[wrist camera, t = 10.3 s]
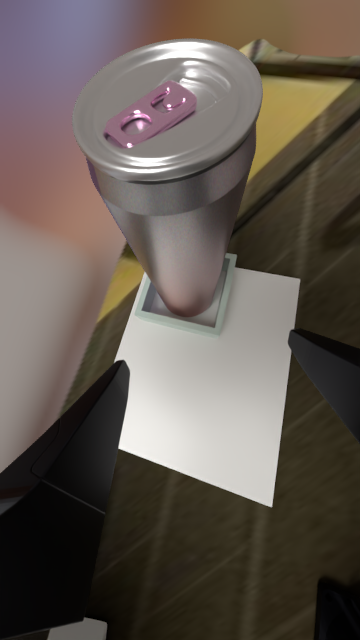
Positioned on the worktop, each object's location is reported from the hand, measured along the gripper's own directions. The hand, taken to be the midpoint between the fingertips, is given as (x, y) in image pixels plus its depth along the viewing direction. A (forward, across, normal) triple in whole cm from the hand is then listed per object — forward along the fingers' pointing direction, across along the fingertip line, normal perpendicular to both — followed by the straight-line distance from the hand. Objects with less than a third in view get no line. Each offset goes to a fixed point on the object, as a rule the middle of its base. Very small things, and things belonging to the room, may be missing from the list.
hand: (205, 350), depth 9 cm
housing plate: (+7, 0, +7) cm, 10 cm away
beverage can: (+12, 0, +1) cm, 12 cm away
